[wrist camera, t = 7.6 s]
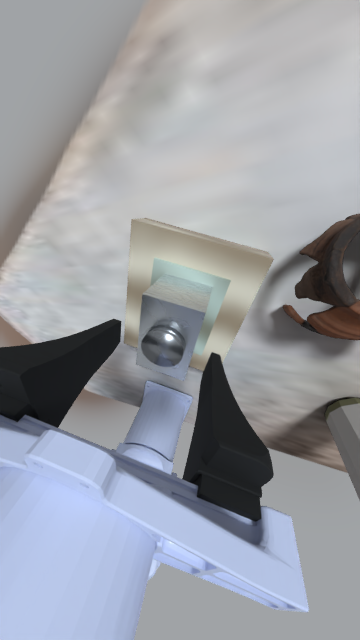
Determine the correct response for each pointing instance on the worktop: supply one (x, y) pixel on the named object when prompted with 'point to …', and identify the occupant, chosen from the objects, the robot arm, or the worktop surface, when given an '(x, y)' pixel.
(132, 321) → the stand
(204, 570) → the robot arm
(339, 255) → the broken clay pot shard
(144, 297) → the block
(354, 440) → the bottle
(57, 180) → the worktop surface
